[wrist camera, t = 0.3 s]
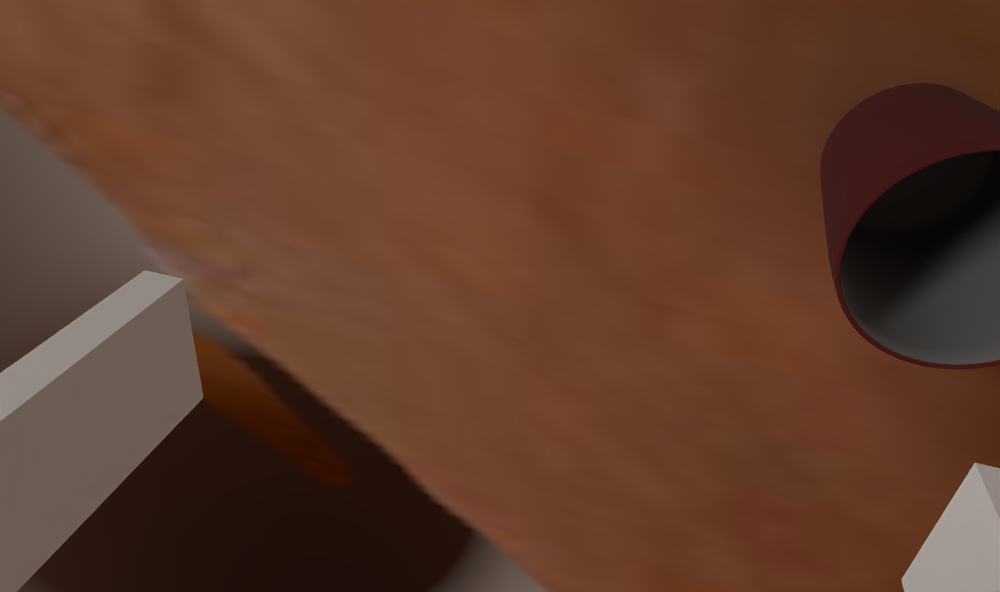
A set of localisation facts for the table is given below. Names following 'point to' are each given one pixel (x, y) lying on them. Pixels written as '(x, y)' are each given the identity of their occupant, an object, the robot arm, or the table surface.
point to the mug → (917, 224)
